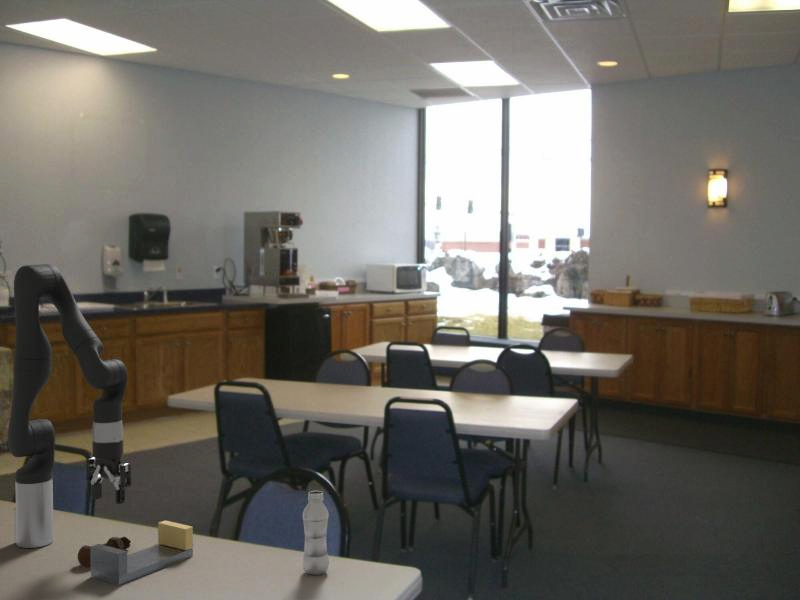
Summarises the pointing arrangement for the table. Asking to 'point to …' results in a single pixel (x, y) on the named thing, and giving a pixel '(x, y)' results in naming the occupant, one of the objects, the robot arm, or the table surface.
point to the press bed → (132, 562)
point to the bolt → (112, 542)
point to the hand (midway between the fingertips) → (108, 501)
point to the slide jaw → (175, 535)
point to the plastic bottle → (315, 534)
